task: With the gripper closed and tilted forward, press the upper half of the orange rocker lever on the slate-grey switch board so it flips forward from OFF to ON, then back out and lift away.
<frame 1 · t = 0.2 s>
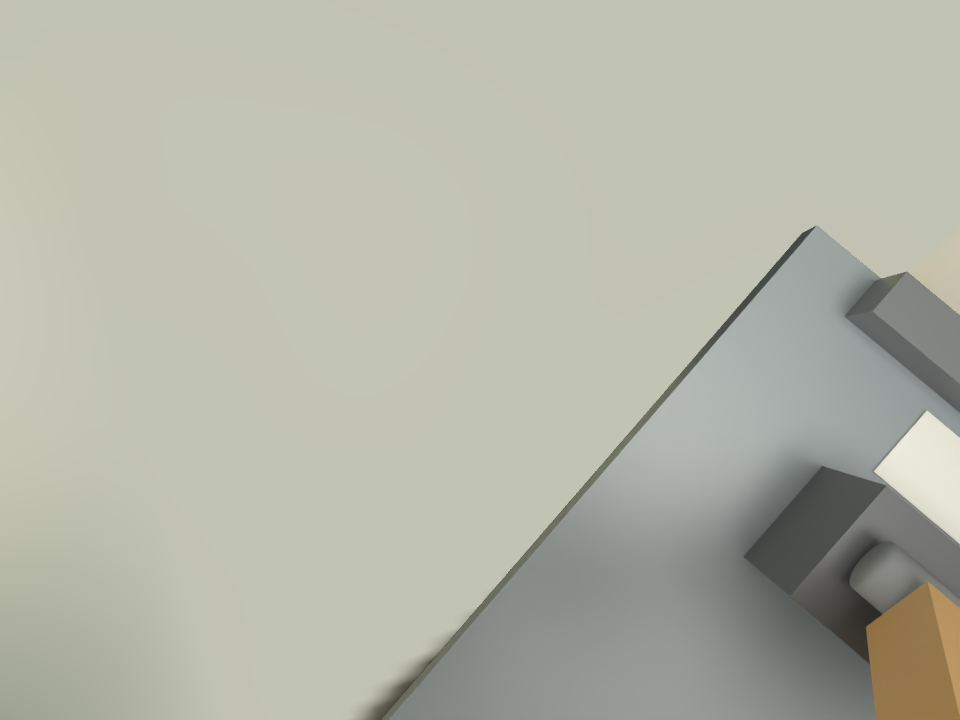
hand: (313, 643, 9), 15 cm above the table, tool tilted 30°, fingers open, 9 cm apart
switch board: (888, 605, 23), on the table
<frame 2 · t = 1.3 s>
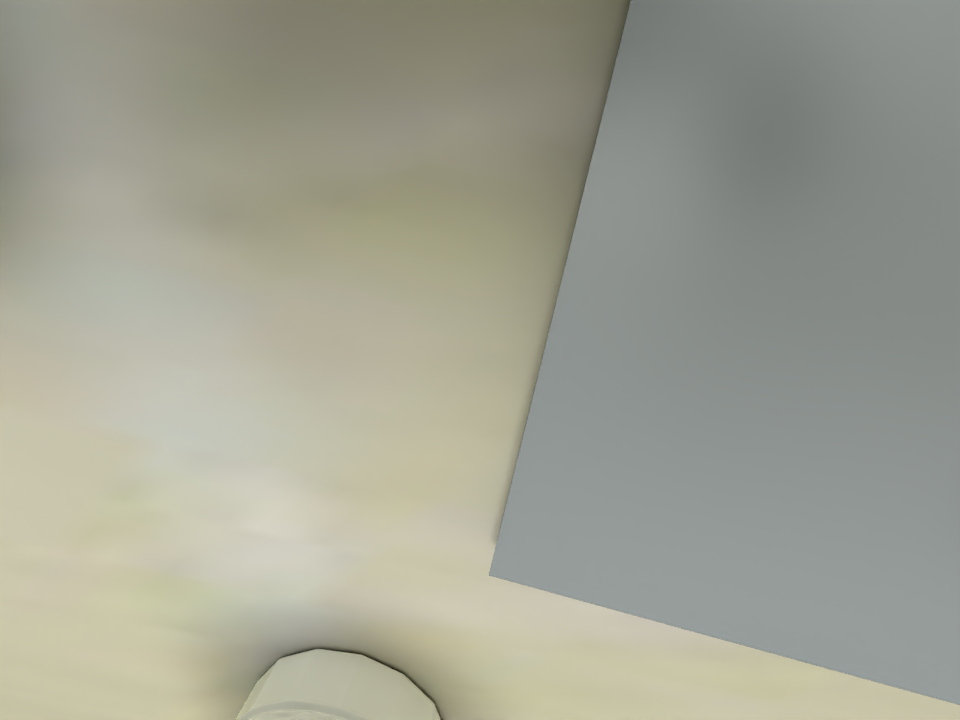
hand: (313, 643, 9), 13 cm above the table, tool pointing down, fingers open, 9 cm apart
white cup: (353, 713, 30), on the table
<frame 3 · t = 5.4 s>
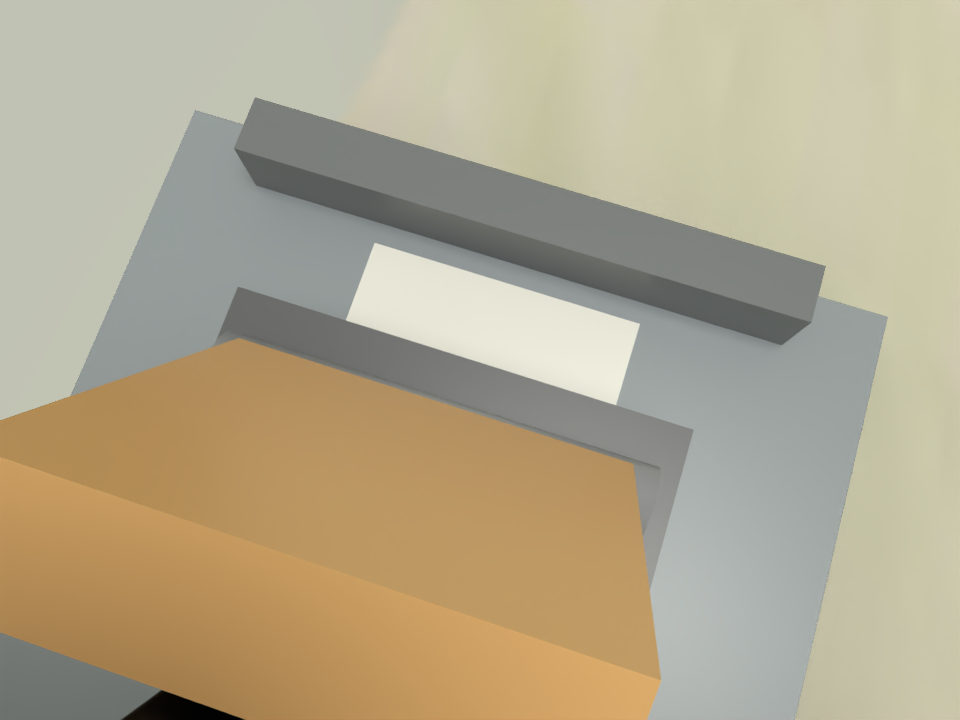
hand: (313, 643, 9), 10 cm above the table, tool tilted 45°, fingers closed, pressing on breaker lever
switch board: (446, 474, 20), on the table
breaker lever: (380, 496, 11), point 9 cm above the table, hinge at -23.6°, touching gripper
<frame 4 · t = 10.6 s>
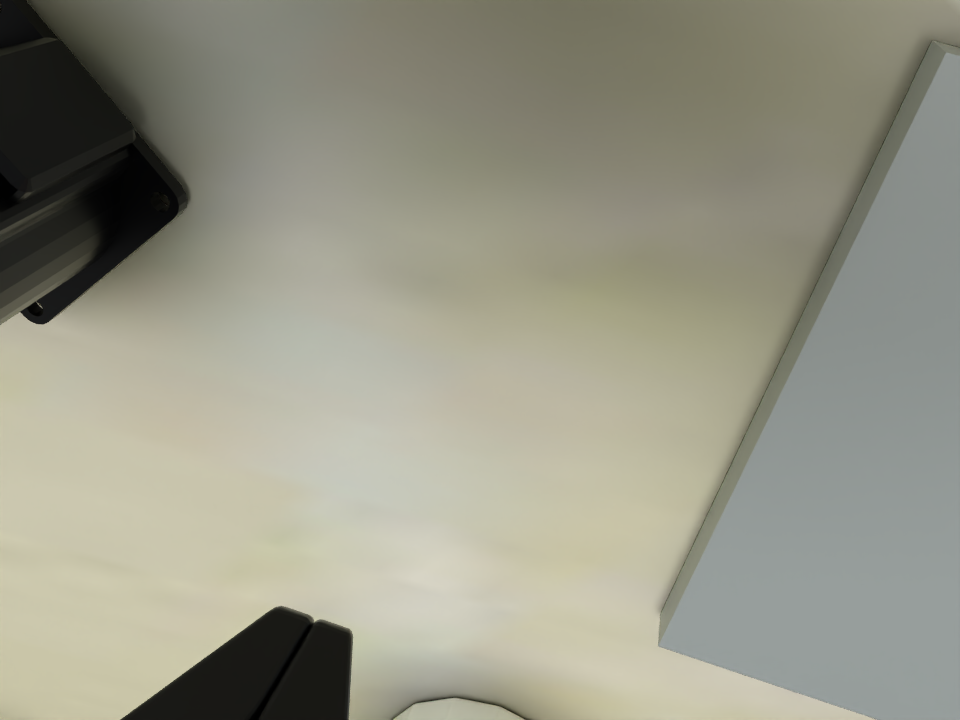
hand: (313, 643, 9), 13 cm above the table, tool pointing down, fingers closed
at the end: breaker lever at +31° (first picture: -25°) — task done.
